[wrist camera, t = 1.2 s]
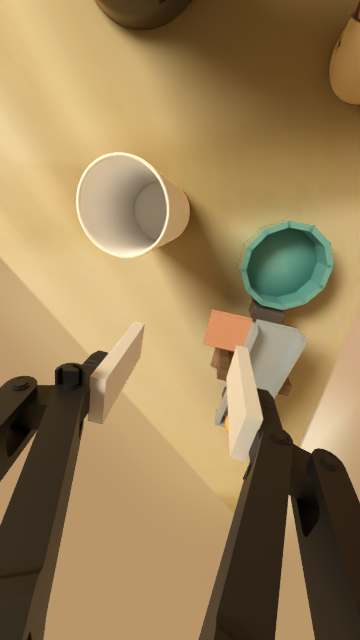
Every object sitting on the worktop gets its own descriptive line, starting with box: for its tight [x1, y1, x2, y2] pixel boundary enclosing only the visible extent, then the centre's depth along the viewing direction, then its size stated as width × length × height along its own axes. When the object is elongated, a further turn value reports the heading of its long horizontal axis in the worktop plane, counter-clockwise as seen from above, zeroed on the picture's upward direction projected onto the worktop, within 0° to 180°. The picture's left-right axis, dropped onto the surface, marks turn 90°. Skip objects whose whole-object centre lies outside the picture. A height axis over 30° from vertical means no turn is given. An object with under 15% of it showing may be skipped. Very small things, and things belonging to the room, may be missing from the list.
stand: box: [211, 299, 292, 399], centre depth 39 cm, size 19×11×8 cm, turn 169°
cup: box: [76, 153, 190, 258], centre depth 29 cm, size 8×8×16 cm
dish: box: [238, 220, 334, 310], centre depth 34 cm, size 11×11×4 cm
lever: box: [204, 309, 307, 427], centre depth 36 cm, size 20×11×4 cm, turn 169°
